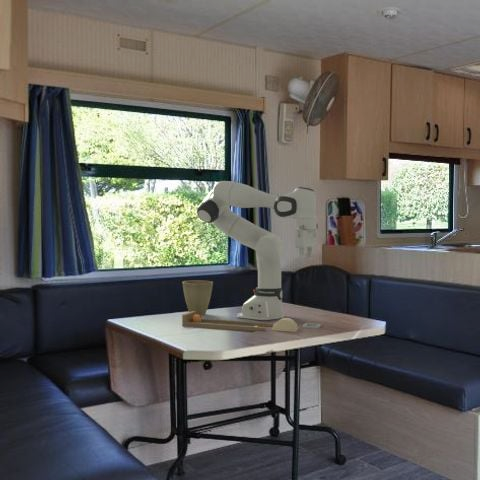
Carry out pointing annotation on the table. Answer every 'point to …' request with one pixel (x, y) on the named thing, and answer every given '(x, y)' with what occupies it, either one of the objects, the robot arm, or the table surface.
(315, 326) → the coaster
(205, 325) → the lane
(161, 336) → the table surface
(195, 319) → the ball
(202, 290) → the plant pot
